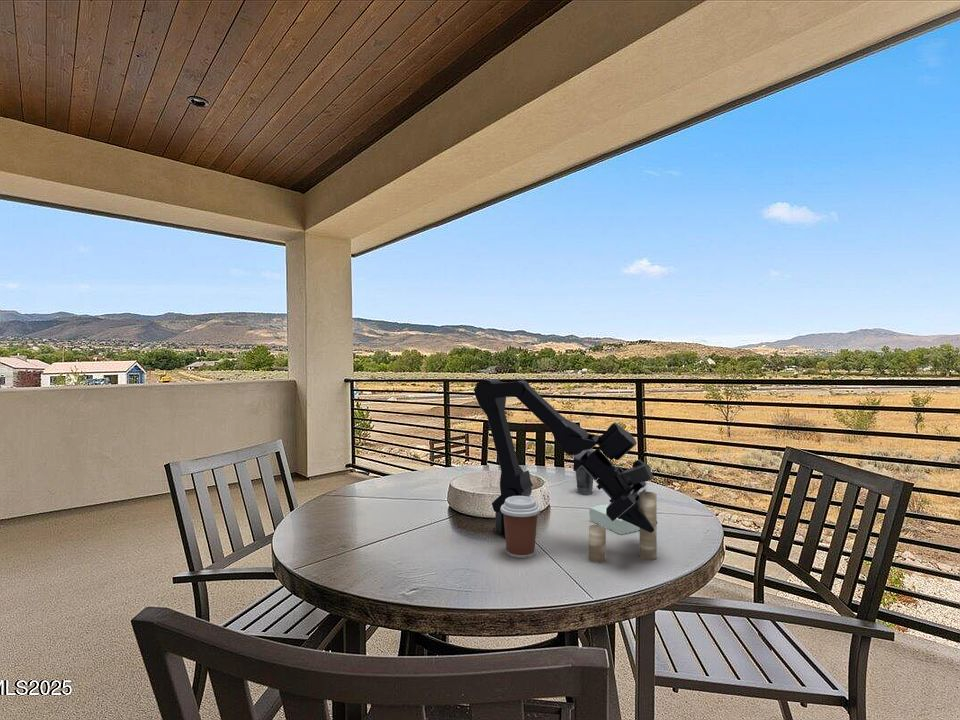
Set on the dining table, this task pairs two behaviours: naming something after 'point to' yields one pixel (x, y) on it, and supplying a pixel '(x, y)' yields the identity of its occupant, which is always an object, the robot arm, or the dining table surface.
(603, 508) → the collar block
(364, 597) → the dining table surface
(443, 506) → the dining table surface
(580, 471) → the beverage cup
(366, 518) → the dining table surface
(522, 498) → the coffee cup
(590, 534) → the short pin
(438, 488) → the dining table surface
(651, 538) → the tall pin
